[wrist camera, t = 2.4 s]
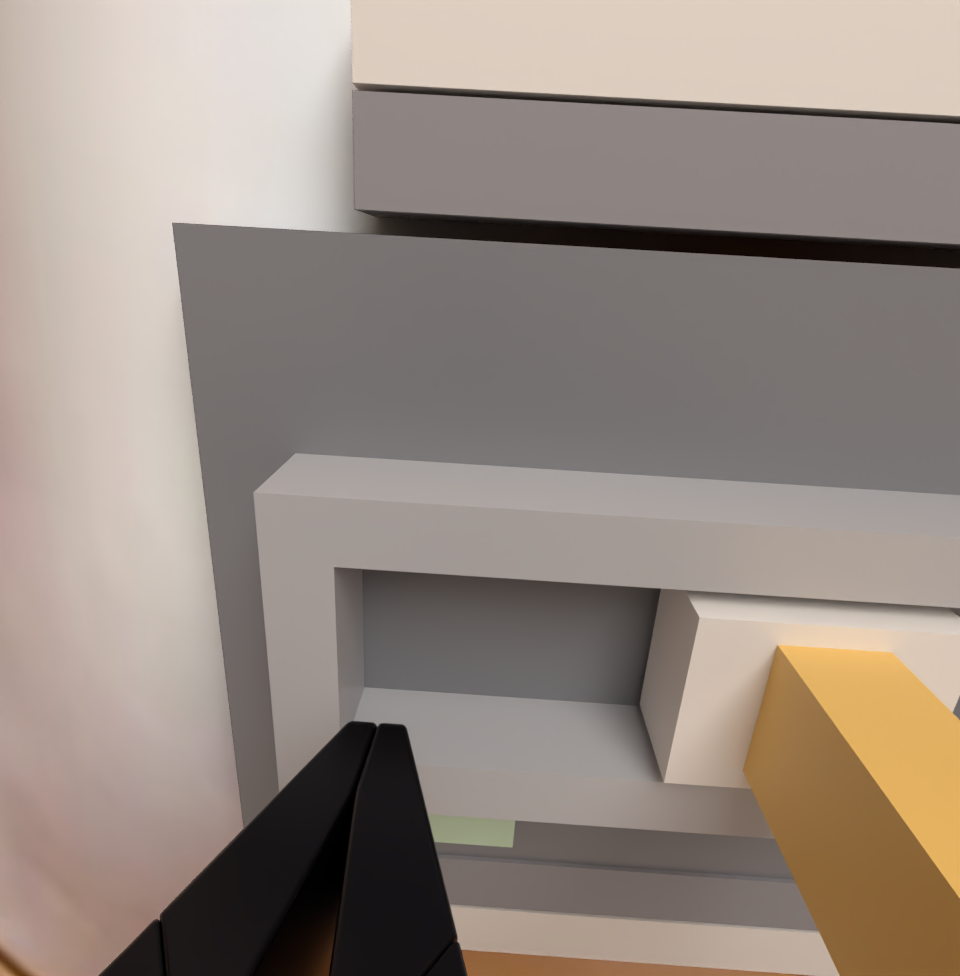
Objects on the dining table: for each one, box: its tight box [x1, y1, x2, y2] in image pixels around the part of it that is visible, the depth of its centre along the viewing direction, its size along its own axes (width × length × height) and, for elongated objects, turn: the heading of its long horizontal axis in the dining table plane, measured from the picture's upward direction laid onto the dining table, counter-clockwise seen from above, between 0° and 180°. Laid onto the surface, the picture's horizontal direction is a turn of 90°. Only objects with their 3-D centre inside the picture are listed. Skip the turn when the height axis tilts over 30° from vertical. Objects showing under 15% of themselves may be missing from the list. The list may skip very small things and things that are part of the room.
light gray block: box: [438, 854, 840, 976], centre depth 16 cm, size 16×3×2 cm, turn 87°
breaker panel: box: [172, 223, 960, 879], centre depth 12 cm, size 22×14×4 cm, turn 87°
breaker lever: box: [640, 589, 960, 976], centre depth 9 cm, size 4×3×7 cm
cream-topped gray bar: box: [351, 0, 960, 250], centre depth 9 cm, size 16×3×2 cm, turn 87°
